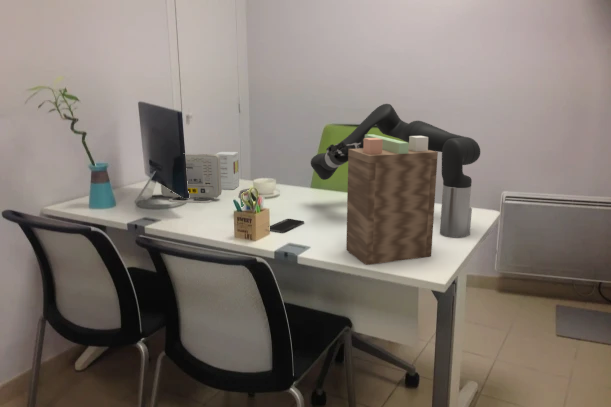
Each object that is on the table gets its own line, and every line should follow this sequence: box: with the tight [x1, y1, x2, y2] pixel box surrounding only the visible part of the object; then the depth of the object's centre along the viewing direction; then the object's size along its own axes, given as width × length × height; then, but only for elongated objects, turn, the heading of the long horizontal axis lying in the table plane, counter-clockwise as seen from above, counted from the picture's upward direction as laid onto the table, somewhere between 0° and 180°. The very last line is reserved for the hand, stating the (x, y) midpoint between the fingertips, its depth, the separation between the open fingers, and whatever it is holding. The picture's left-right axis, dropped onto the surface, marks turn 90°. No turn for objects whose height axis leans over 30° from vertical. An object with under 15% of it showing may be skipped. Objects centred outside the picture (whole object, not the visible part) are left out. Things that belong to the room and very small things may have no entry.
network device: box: [160, 153, 222, 204], centre depth 229 cm, size 26×9×20 cm, turn 84°
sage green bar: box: [365, 133, 409, 154], centre depth 161 cm, size 3×22×3 cm, turn 20°
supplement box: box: [216, 151, 240, 190], centre depth 254 cm, size 10×9×17 cm
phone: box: [269, 218, 305, 234], centre depth 192 cm, size 8×1×15 cm
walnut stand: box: [345, 148, 439, 266], centre depth 161 cm, size 22×14×32 cm, turn 110°
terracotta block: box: [363, 138, 383, 154], centre depth 152 cm, size 4×4×4 cm
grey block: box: [409, 136, 428, 151], centre depth 157 cm, size 4×4×4 cm
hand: (355, 143), depth 183 cm, fingers open, 8 cm apart
